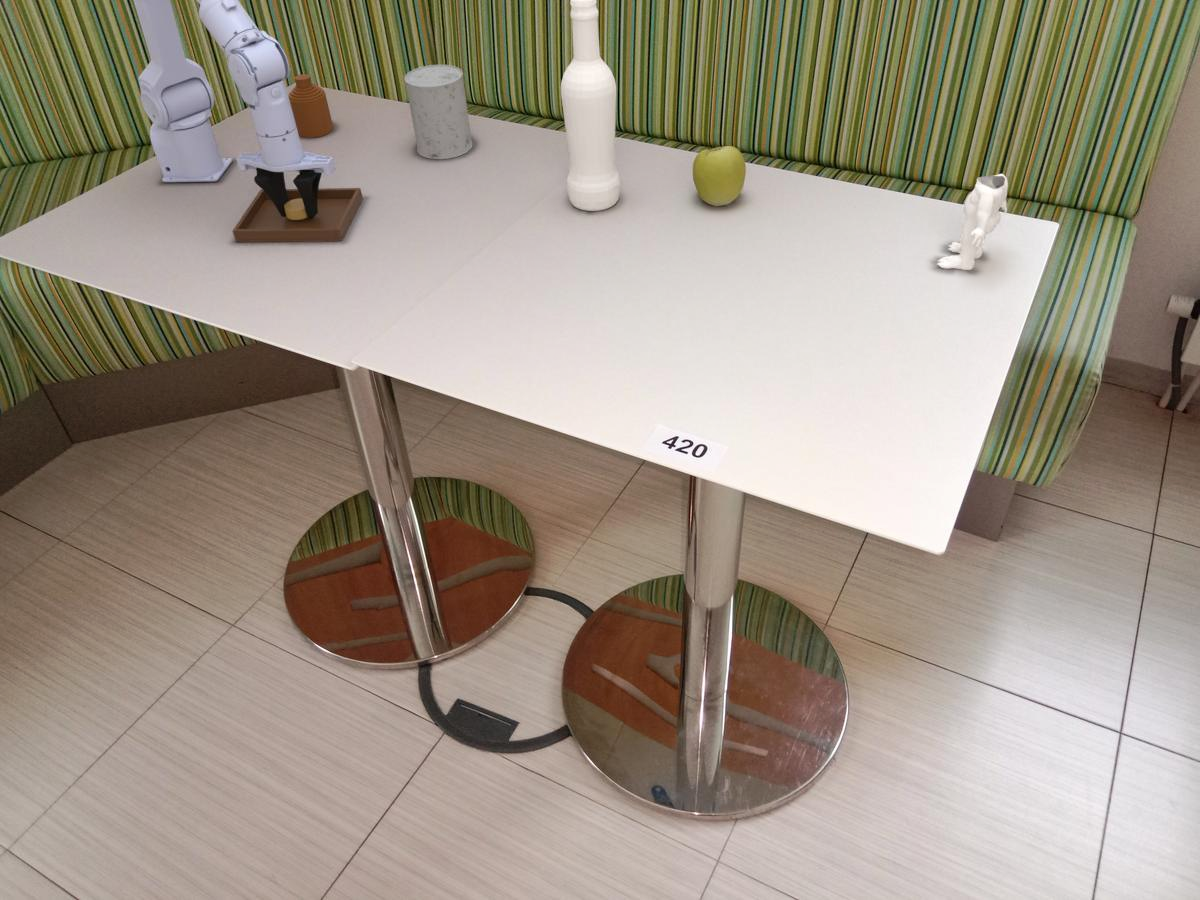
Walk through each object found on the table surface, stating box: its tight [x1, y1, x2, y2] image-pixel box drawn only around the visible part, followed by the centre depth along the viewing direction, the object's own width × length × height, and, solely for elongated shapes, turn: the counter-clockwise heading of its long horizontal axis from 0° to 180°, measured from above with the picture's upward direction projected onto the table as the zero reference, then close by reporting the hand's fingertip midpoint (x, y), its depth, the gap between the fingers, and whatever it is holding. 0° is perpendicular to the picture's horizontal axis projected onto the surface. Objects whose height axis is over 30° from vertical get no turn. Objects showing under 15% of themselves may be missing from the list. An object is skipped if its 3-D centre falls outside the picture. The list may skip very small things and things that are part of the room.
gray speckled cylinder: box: [403, 64, 473, 160], centre depth 162 cm, size 10×10×12 cm
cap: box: [284, 199, 308, 220], centre depth 148 cm, size 4×4×2 cm
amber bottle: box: [288, 73, 334, 139], centre depth 171 cm, size 6×6×10 cm
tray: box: [232, 187, 364, 243], centre depth 148 cm, size 16×13×2 cm
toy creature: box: [936, 173, 1009, 271], centre depth 128 cm, size 12×6×12 cm, turn 147°
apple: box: [692, 141, 747, 207], centre depth 145 cm, size 8×8×10 cm
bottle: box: [560, 0, 621, 212], centre depth 140 cm, size 8×8×30 cm
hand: (299, 214), depth 148 cm, fingers closed on cap, 4 cm apart
